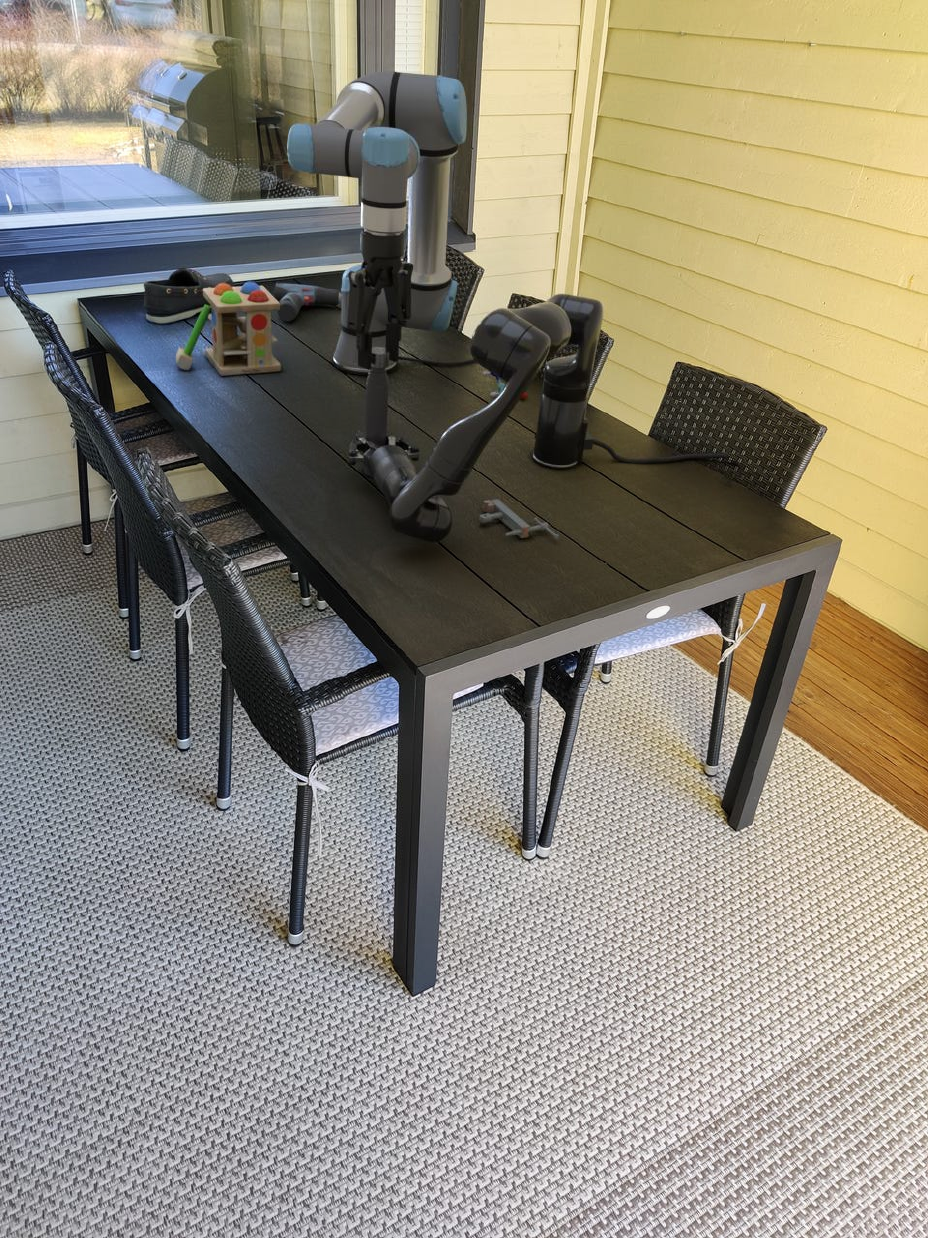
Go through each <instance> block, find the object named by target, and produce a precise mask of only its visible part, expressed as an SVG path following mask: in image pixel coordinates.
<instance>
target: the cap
mask: <svg viewBox="0 0 928 1238" xmlns="http://www.w3.org/2000/svg"><path fill="white" fill-rule="evenodd" d="M388 365H389V350H388V349H386V348H383V347H372V363H371V367H374V368H385V367H387V366H388Z"/></svg>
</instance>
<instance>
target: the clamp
mask: <svg viewBox="0 0 928 1238" xmlns="http://www.w3.org/2000/svg"><path fill="white" fill-rule="evenodd" d="M482 506H483V507H482V512H484V513H482V514H479V516H478V517H479V519H478V520H479V522H480V523H482V524H485V523H491V522H492V521H493V520H497V519H498V520H500V521H501V522H502V523H503V524H504V525H506V526H507V527H508V528H509V529H510V530H511V531H509V532H505V533H504V536H505V537H509V536H518V537H519V538H521V539H525V538H529V535H530V534H529V533H531V532H535V531H546V532H547V533H548V534H550V535H552V536H553V537H554V540H559V538H560V534H558V533H557V534H556V533H555V532H554V531H553V530H552V529H550V528H549V527H550V525H549V523H548V522H542V521H540V520H539V518H538V517H537V516H536V517H534V518H533V520H532V521H533V523H537V524H538V525H534V526H531V525H529V524H528V523H527V522H526V521H525V520H523V519H522V517H520V516H519V515H518V514H516V513H515V512H514V511H512V509H510V508H509V507H508V506H507V505H506V504H504V502H502V501H501V500H500V499H499V498H497V499H492V500H490V499H488V500H484V501H483V505H482Z"/></svg>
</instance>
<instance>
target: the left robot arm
mask: <svg viewBox="0 0 928 1238" xmlns="http://www.w3.org/2000/svg"><path fill="white" fill-rule="evenodd" d="M464 88H465V87H464V86H463V83H462V82H461V81H460V80H459V79H457V78H452V77H447V76H443V75H440V74H438V75H435V74H423V73H422V74H421V73H411V72H401V71H400V72H399V71H394V70H382V71H377V72H372V73H368V74H366V75H363V76H361V77H358V78H355V79H354V80H352V81H350V82H349V83H348V84H346V85H345V86H344V87H343V88H342V89H341V90H340V92H339V94H338V96H337V98H336V103H335V104H334V105H333V106H332V107H331V108H330V109H329V110H328V111H327V112H326V113H325V114H324V115H323V116H322V117H321V118H320V119H319V120H318V121H317V122H315V124H310V123H309V122H305V123H293V124H292V125H291V127H290V129H289V131H288V136H287V143H286V144H287V147H286V148H287V160H288V163H289V165H290V167H291V169H292V170H294V171H297V172H303V173H308V174H309V175H313V174H315V175H324V176H335V177H345V178H354V179H361V199H360V200H361V203H360V210H361V211H360V226H361V228H362V230H361V231H360V235H359V236H360V237H359V239H360V241H359V251H360V254H361V255H362V262H361V264H356V265H353V266H351V267H348V268H346V270H345V271H344V272H343V274H342V277H341V278H342V281H341V287H340V293H341V294H342V302H341V316H340V317H341V319H340V321H341V324H340V325H341V326H340V329H341V330H340V336H339V338H338V341H337V344H336V348H335V350H334V352H333V361H332V362H333V363H332V364H333V366H334V367H335V368H337V369H338V370H339V371H342V372H344V373H347V374H352V375H356V376H368V375H369V372H370V369H371V363H372V347H383V348H386V349H388V350H389V365H388V366H387V367H385V370H386V373H387V374H389V373H391V372H393V371H395V369H396V368H397V363H398V362H399V361H406V362H414V363H420V364H427V365H432V366H460V365H466V364H471V363H475V362H476V361H475V360H474V358H471V359H466V360H461V361H433V360H427V359H420V358H414V357H413V358H412V357H406V356H400V355H399V353H400V342H401V340H402V328H405V329H414V330H422V331H427V332H432V331H433V332H444V331H446V330H447V329H448V328H449V325H450V323H451V318H452V314H453V310H454V305H455V300H456V296H457V290H458V283H459V282H458V281H456V280H455V279H452V271H451V269H450V268H449V267H448V266H447V265H446V259H447V239H448V238H447V235H448V216H449V215H448V214H449V195H450V194H449V193H450V192H449V191H450V170H451V159H452V158H453V157H454V156H455V155H456V154H457V153H458V151H459V145H461V144H464V143H465V142H466V138H467V130H468V129H467V128H468V126H467V122H468V114H467V113H468V112H467V111H468V110H467V99H466V92H465V89H464ZM407 193H408V195H407ZM407 196H408V210H407ZM407 211H408V212H407ZM407 213H408V214H407ZM407 215H408V216H407ZM407 219H408V220H407ZM406 224H407V225H406ZM406 226H407V228H406ZM406 229H407V260H406V261H405V260H402V258H403V256H404V255H405V242H406V234H405V233H404V231H405V230H406Z"/></svg>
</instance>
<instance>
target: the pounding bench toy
mask: <svg viewBox="0 0 928 1238" xmlns="http://www.w3.org/2000/svg"><path fill="white" fill-rule="evenodd" d="M203 296H204V297H205V299H206V300H207V301H208V302H209V304H210V305H211V307H210V306H208V305H204V307H203V309H202V311H200V313H199V316H198V318H197V320H196V322H195V324H194V327H193V329H192V331H191V332H190V333H191V334H190V336H189V338H188V340H187V343H186V344H185V347H184V348H182V347H180V346H179V347H178V349H177V351H176V354H175V357H174V358H175V362H176V365H177V366H178V368H179V369H182V370H185V371H189V370H190V369H191V367H192V365H193V363H194V356H193V351H194V348H195V347H196V345H197V342H198V340H199V337H200V336H201V333H202V332H203V329H204V326H205V325H206V322H207V320H209V321H210V322H211V336H212V337H211V338H212V339H211V340H212V348H205V349H204V352H205V353H204V355H205V357H206V359H208V361H209V363H210V364H211V365H212V366H213V367H214V369H215V370H216V371H217V372H218V374H219V375H220V376H222V377H223V376H234V375H235V376H236V375H246V374H247V375H250V374H262V373H275V372H281V370H282V364H281V363H280V362H279V360H278V359H277V358H276V357H275V356H274V355H273V348H272V347H273V345H272V344H276V343H278V342H279V341H278V339H277V338H276V337H275V336H274V334H272V311H278V310H280V302H278V301H277V300H276V299H275V296H273V295H272V294H271V293H270V292H269V290H268V289H267V288H266V287H264V285H259V284H257V283H256V282H255V281H247V282H245V283H244V284H243V285H242V286H234V287H231V286H230V285H228V284H226V283H221V284H218V285H217V286H216V287H215V288H204V289H203ZM238 313H244V314H245V315H244V316H238ZM238 329H239V331H240V333H239V334H238Z"/></svg>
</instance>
